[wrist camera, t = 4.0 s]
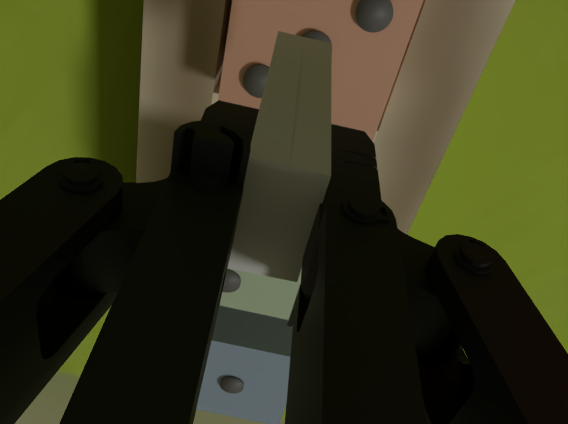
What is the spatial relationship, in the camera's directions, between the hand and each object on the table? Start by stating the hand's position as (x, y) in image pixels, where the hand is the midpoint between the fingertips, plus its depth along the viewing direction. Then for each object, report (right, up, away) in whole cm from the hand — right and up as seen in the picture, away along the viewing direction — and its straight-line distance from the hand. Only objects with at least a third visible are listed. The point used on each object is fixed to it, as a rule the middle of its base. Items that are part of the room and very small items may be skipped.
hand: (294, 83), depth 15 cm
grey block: (-3, -10, +15) cm, 18 cm away
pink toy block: (+1, +4, +6) cm, 8 cm away
